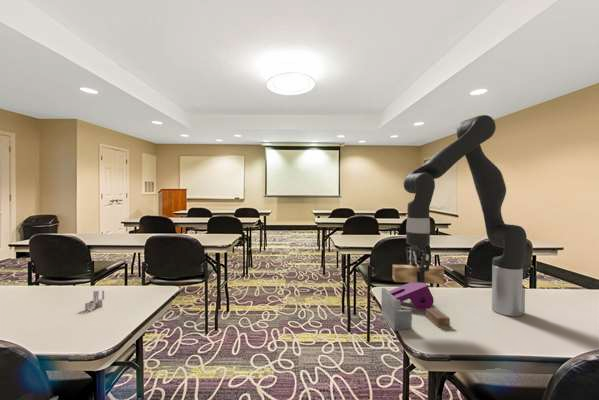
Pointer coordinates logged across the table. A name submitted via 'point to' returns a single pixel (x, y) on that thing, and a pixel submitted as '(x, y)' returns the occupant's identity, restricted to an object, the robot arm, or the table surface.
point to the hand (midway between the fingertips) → (417, 279)
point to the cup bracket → (395, 312)
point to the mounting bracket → (415, 295)
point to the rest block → (438, 317)
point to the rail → (410, 274)
